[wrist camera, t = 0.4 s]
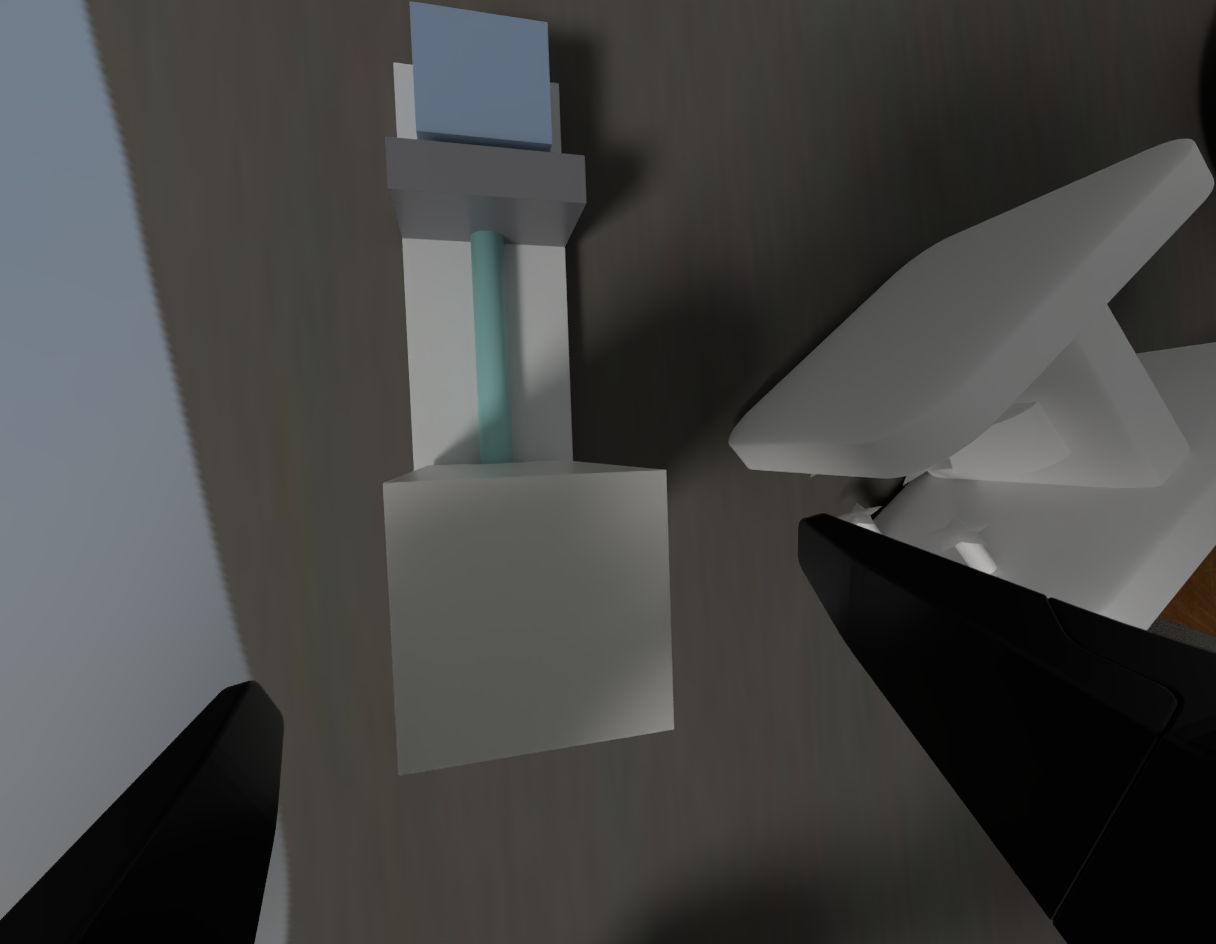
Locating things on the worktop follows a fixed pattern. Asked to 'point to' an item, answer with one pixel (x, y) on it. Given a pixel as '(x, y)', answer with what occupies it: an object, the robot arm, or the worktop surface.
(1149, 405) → the cable organizer
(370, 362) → the worktop surface
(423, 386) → the cord rail
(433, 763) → the grey rectangular box
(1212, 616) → the disposable coffee cup
